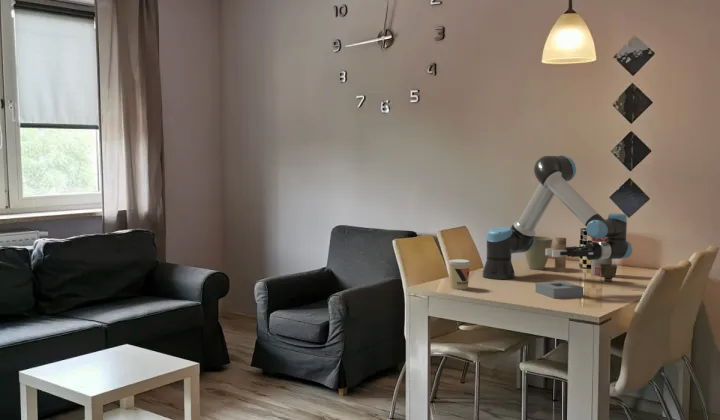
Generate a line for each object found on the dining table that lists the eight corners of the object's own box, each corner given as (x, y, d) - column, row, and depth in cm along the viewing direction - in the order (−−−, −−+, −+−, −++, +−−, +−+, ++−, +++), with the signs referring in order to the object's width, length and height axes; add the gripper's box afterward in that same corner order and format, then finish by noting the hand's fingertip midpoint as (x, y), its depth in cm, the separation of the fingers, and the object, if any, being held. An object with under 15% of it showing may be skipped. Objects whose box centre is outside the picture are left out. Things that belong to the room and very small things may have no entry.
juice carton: (611, 275, 340) (612, 231, 338) (601, 276, 337) (602, 231, 335) (601, 273, 346) (602, 229, 344) (591, 274, 343) (592, 230, 341)
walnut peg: (552, 270, 295) (553, 237, 294) (561, 270, 296) (562, 237, 295) (558, 272, 291) (559, 238, 290) (567, 271, 292) (568, 238, 291)
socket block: (535, 291, 299) (535, 282, 299) (563, 290, 303) (564, 281, 303) (553, 298, 286) (553, 288, 286) (583, 296, 290) (583, 287, 290)
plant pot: (517, 268, 358) (518, 238, 357) (528, 265, 371) (529, 235, 369) (545, 271, 350) (546, 240, 349) (555, 268, 362) (556, 237, 361)
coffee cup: (456, 290, 301) (456, 263, 300) (444, 286, 309) (444, 260, 308) (473, 288, 305) (474, 261, 304) (461, 285, 314) (461, 258, 313)
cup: (617, 283, 320) (618, 266, 320) (600, 282, 322) (601, 265, 321) (615, 280, 328) (615, 263, 327) (598, 279, 329) (599, 262, 329)
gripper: (609, 262, 290) (560, 264, 283) (584, 256, 307) (537, 258, 300) (610, 244, 290) (561, 246, 283) (585, 239, 306) (538, 241, 299)
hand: (549, 252), depth 291 cm, fingers closed on walnut peg, 4 cm apart
